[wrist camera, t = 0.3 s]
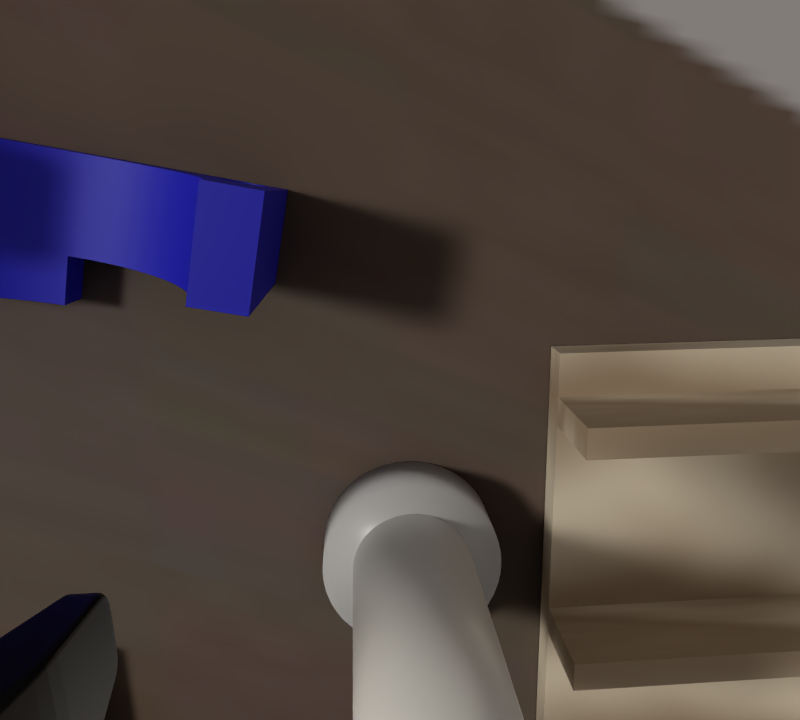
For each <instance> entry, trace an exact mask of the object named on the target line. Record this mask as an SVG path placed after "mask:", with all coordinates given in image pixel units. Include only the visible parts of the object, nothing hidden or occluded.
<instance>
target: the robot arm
mask: <svg viewBox="0 0 800 720" xmlns="http://www.w3.org/2000/svg"><path fill="white" fill-rule="evenodd" d="M117 667H118V653H117V646H116V640H115V634H114V628H113V622H112V616H111V610H110V605H109V602H108V599H107V597H106V596H105V595H103V594H102V593H86V594H69V595H66V596H64V597H62V598H60V599H59V600H57V601H56V602H54V603H53V604H51V605H50V606H48V607H47V608H45V609H44V610H42V611H41V612H39V613H38V614H36V615H34V616H33V617H31V618H30V619H28V620H27V621H25V622H24V623H22V624H21V625H19V626H18V627H16V628H15V629H13V630H12V631H10V632H8V633H7V634H5V635H4V636H2V637H1V638H0V720H104V719H105V715H106V711H107V708H108V704H109V700H110V697H111V693H112V689H113V686H114V682H115V678H116V674H117Z"/></svg>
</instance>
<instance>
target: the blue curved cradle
mask: <svg viewBox="0 0 800 720" xmlns="http://www.w3.org/2000/svg"><path fill="white" fill-rule="evenodd" d="M287 193H288V190H286V189H280V188H275V187H269V186H264V185H258V184H253V183H247V182H242V181H236V180H231V179H225V178H220V177H214V176H209V175H203V174H198V173H192V172H187V171H181V170H176V169H170V168H165V167H159V166H154V165H148V164H143V163H137V162H131V161H126V160H120V159H115V158H109V157H104V156H98V155H93V154H87V153H82V152H76V151H71V150H65V149H60V148H54V147H49V146H43V145H38V144H32V143H27V142H21V141H16V140H10V139H5V138H0V298H8V299H19V300H28V301H37V302H45V303H52V304H59V305H67V304H69V303H71V302H74V301H76V300H79V299H81V298H82V285H83V271H84V259H88V260H93V261H98V262H103V263H108V264H112V265H116V266H121V267H125V268H129V269H133V270H136V271H140V272H143V273H147V274H150V275H153V276H156V277H159V278H162V279H164V280H167V281H169V282H171V283H173V284H176V285H177V286H179V287H181V288H182V289H184V290H185V291H186V292H187V299H186V307H191V308H198V309H204V310H210V311H216V312H223V313H229V314H235V315H241V316H247V317H249V316H250V314H251V313H252V312H253V311H254V309H255V308H256V307H257V306H258V304H259V303H260V302H261V301H262V299H263V298H264V297H265V296H266V294H267V293H268V292H269V291H270V289H271V288H272V287H273V286H274V284H275V281H276V274H277V266H278V259H279V252H280V244H281V237H282V230H283V222H284V215H285V207H286V200H287Z"/></svg>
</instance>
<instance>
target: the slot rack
mask: <svg viewBox="0 0 800 720" xmlns="http://www.w3.org/2000/svg"><path fill="white" fill-rule="evenodd" d="M536 720H800V339H776V340H744V341H712V342H680V343H648V344H616V345H585V346H553V347H551V369H550V394H549V418H548V443H547V467H546V492H545V516H544V540H543V565H542V589H541V614H540V638H539V663H538V687H537V712H536Z"/></svg>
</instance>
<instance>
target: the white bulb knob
mask: <svg viewBox="0 0 800 720" xmlns="http://www.w3.org/2000/svg"><path fill="white" fill-rule="evenodd" d="M500 573H501V552H500V546H499V542H498V539H497V537H496V534H495V531H494V529H493V526H492V524H491V521H490V519H489V517H488V514H487V512H486V509H485V507H484V505H483V503H482V501H481V499H480V497H479V496H478V494H477V493H476V492H475V490H474V489H473V488H472V487H471V486H470V485H469V484H468V483H467V482H466V481H465V480H464V479H462V478H461V477H460V476H458V475H457V474H455V473H453V472H452V471H450V470H448V469H445V468H443V467H441V466H438V465H434V464H430V463H425V462H416V461H405V462H396V463H391V464H387V465H383V466H381V467H378V468H375V469H373V470H371V471H369V472H367V473H365V474H363V475H362V476H360V477H359V478H358V479H356V480H355V481H354V482H353V483H351V484H350V485H349V486H348V487H347V488H346V489H345V490H344V491H343V493H342V494H341V495H340V496H339V498H338V499H337V501H336V502H335V504H334V506H333V508H332V510H331V512H330V515H329V518H328V521H327V526H326V531H325V543H324V556H323V579H324V585H325V589H326V592H327V595H328V597H329V599H330V602H331V604H332V605H333V607H334V608H335V610H336V611H337V613H338V614H339V615H340V616H341V617H342V619H343V620H344V621H345V622H347V623H348V624H349V625H350V626H351V627H352V628H353V720H524V718H523V715H522V712H521V709H520V706H519V703H518V699H517V696H516V693H515V690H514V687H513V684H512V681H511V678H510V674H509V671H508V668H507V665H506V662H505V659H504V656H503V653H502V649H501V646H500V643H499V640H498V637H497V634H496V631H495V628H494V624H493V621H492V618H491V615H490V612H489V609H488V606H487V605H488V604H489V602H490V600H491V599H492V597H493V595H494V593H495V590H496V588H497V585H498V582H499V578H500Z"/></svg>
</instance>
